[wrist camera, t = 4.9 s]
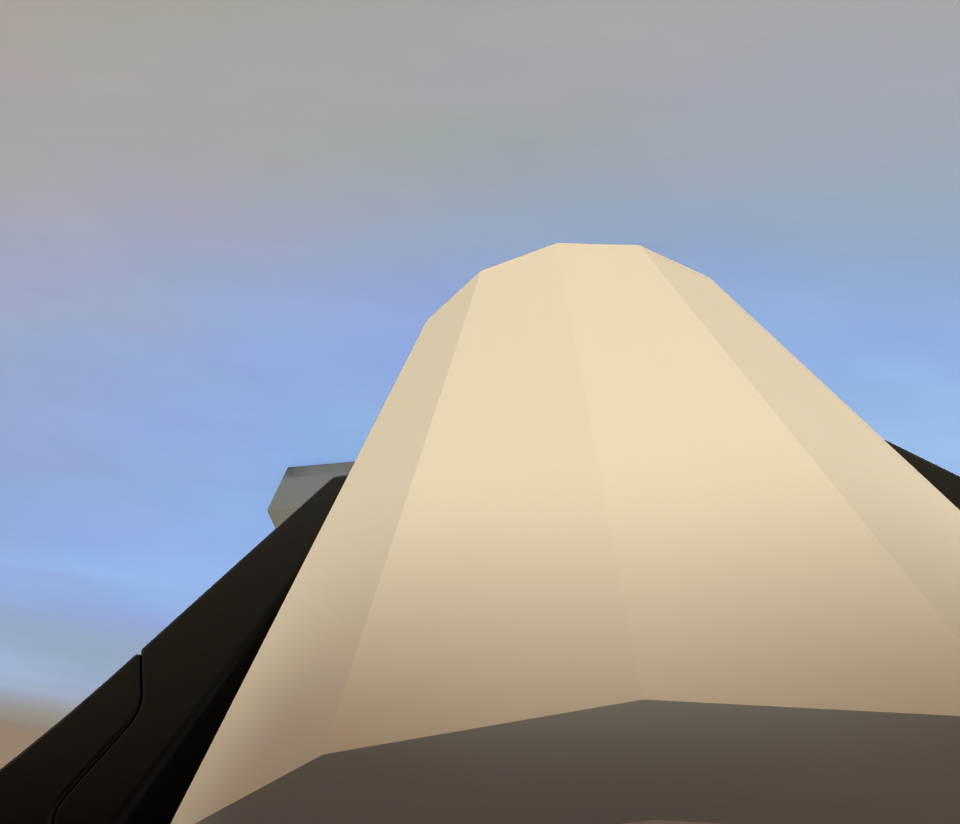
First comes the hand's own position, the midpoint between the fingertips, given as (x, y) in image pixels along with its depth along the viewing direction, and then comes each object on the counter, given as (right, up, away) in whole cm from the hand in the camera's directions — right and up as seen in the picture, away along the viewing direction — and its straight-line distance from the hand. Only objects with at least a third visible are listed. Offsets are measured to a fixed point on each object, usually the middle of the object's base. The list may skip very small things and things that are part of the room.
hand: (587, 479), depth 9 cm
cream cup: (0, +1, +1) cm, 2 cm away
